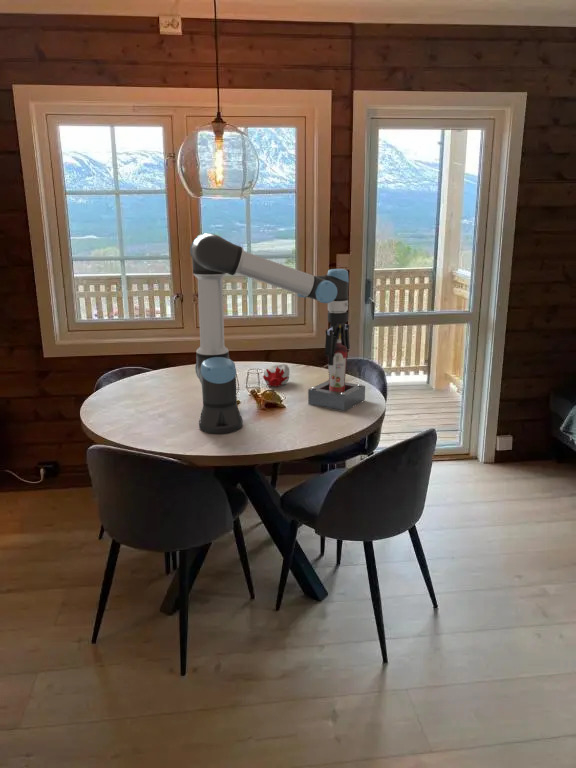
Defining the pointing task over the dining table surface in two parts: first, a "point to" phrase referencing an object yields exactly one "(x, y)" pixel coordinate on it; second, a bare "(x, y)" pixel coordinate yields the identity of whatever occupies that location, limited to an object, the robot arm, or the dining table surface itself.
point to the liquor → (339, 368)
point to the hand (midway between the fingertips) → (337, 370)
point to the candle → (276, 375)
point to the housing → (336, 396)
